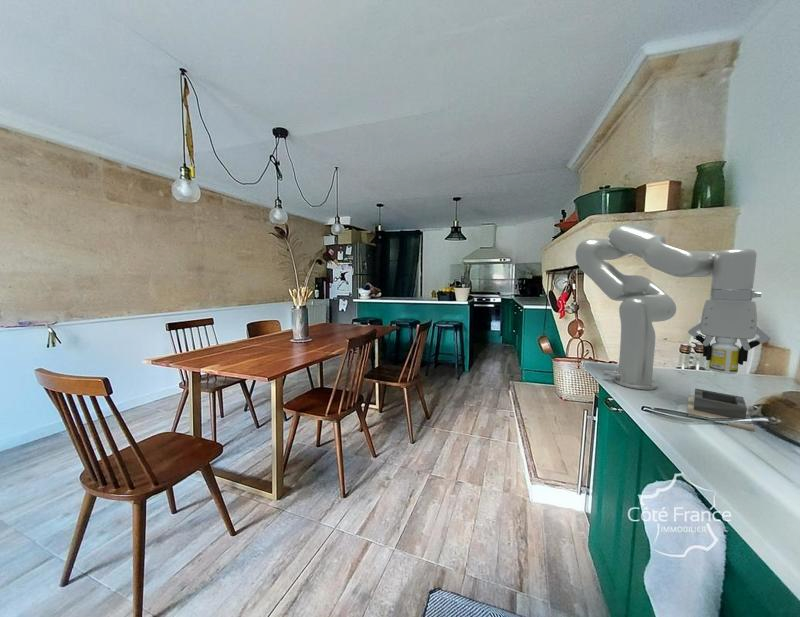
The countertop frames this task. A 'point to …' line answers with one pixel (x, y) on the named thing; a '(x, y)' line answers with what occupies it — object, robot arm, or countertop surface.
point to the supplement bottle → (724, 356)
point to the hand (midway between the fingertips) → (723, 360)
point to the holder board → (718, 407)
